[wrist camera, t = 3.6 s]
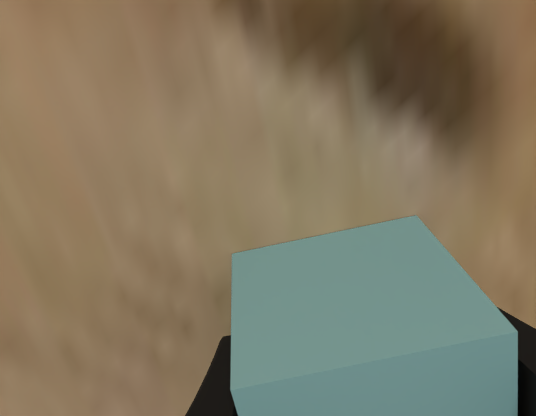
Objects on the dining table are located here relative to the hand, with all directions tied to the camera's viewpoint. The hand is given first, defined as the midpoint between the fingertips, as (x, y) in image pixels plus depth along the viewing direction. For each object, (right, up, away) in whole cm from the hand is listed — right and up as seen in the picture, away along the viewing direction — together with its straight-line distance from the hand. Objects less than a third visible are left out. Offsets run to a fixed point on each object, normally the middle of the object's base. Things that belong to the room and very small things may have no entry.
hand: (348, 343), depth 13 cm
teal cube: (0, +1, +1) cm, 1 cm away
